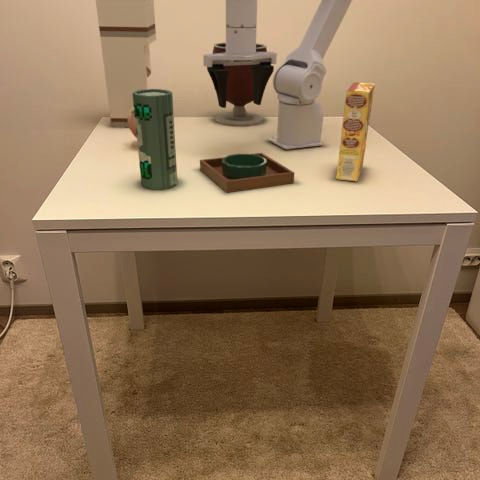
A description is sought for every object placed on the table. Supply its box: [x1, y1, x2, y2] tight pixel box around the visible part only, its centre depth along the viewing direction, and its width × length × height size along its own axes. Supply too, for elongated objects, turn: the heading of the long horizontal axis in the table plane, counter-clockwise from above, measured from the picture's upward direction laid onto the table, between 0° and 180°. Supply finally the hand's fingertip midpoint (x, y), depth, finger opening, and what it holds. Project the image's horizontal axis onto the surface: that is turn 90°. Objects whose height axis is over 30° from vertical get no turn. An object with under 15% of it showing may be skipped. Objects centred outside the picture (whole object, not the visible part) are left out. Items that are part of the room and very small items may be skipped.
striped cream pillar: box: [95, 0, 157, 128], centre depth 115 cm, size 11×11×35 cm
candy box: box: [335, 81, 376, 182], centre depth 90 cm, size 9×4×15 cm, turn 162°
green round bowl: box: [222, 153, 267, 180], centre depth 91 cm, size 8×8×2 cm
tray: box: [199, 152, 295, 193], centre depth 92 cm, size 13×13×2 cm
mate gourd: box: [212, 42, 268, 127], centre depth 122 cm, size 16×14×20 cm
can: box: [132, 88, 178, 191], centre depth 84 cm, size 6×6×15 cm
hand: (239, 105), depth 99 cm, fingers open, 7 cm apart
